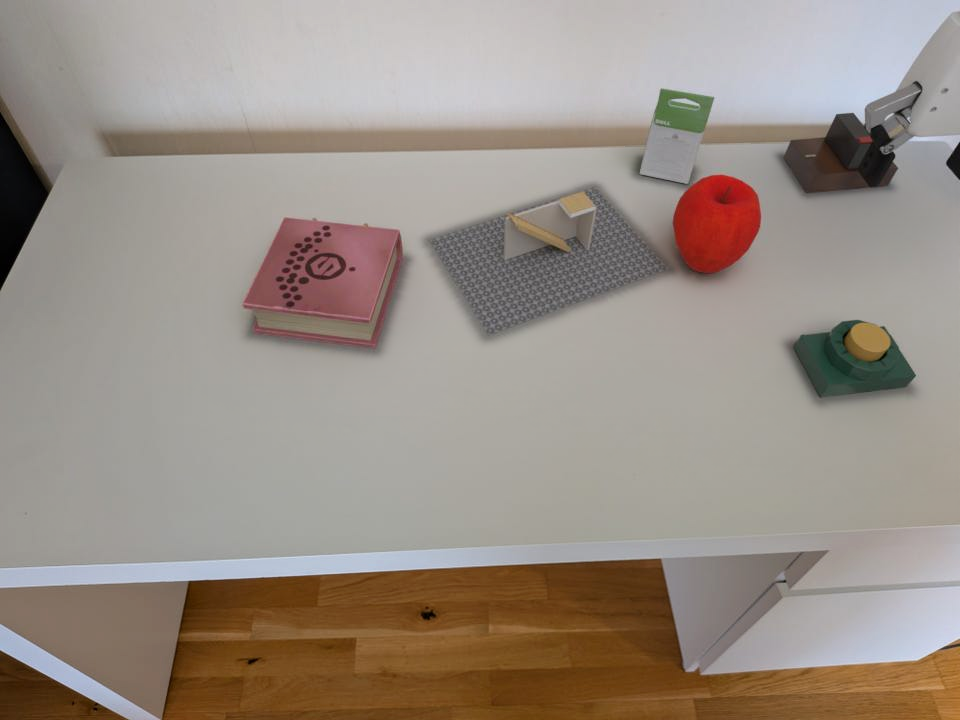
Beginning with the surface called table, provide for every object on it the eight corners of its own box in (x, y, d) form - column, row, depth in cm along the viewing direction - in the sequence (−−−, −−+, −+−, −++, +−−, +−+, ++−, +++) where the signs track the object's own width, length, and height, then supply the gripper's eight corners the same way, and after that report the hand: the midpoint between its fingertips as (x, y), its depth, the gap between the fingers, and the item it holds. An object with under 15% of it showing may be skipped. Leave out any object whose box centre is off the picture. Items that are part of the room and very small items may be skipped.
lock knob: (824, 139, 96) (837, 112, 93) (840, 137, 96) (854, 111, 93) (846, 169, 92) (861, 143, 89) (864, 168, 92) (879, 141, 89)
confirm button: (871, 330, 74) (879, 320, 73) (889, 359, 72) (898, 349, 71) (837, 334, 74) (844, 324, 73) (854, 363, 72) (861, 353, 70)
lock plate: (860, 151, 100) (871, 132, 97) (887, 185, 95) (899, 167, 92) (783, 157, 99) (791, 138, 96) (806, 193, 94) (815, 174, 91)
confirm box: (875, 337, 78) (892, 315, 75) (906, 387, 74) (925, 365, 71) (793, 347, 77) (806, 324, 74) (819, 397, 73) (835, 376, 70)
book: (404, 254, 86) (400, 224, 82) (375, 348, 77) (369, 319, 73) (295, 242, 87) (286, 212, 83) (253, 333, 78) (241, 304, 74)
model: (589, 249, 87) (597, 202, 81) (515, 275, 84) (518, 228, 78) (576, 233, 89) (584, 186, 82) (503, 258, 86) (505, 211, 80)
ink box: (692, 168, 97) (719, 81, 86) (687, 185, 95) (715, 98, 84) (643, 158, 98) (664, 71, 87) (638, 175, 96) (659, 87, 85)
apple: (647, 245, 87) (668, 166, 78) (713, 228, 89) (742, 149, 80) (686, 299, 82) (714, 222, 72) (756, 280, 84) (793, 202, 74)
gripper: (1085, -19, 59) (970, 148, 73) (898, -11, 58) (816, 158, 71) (1146, 24, 55) (1010, 194, 68) (944, 34, 53) (847, 205, 67)
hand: (911, 175), depth 70 cm, fingers open, 9 cm apart
